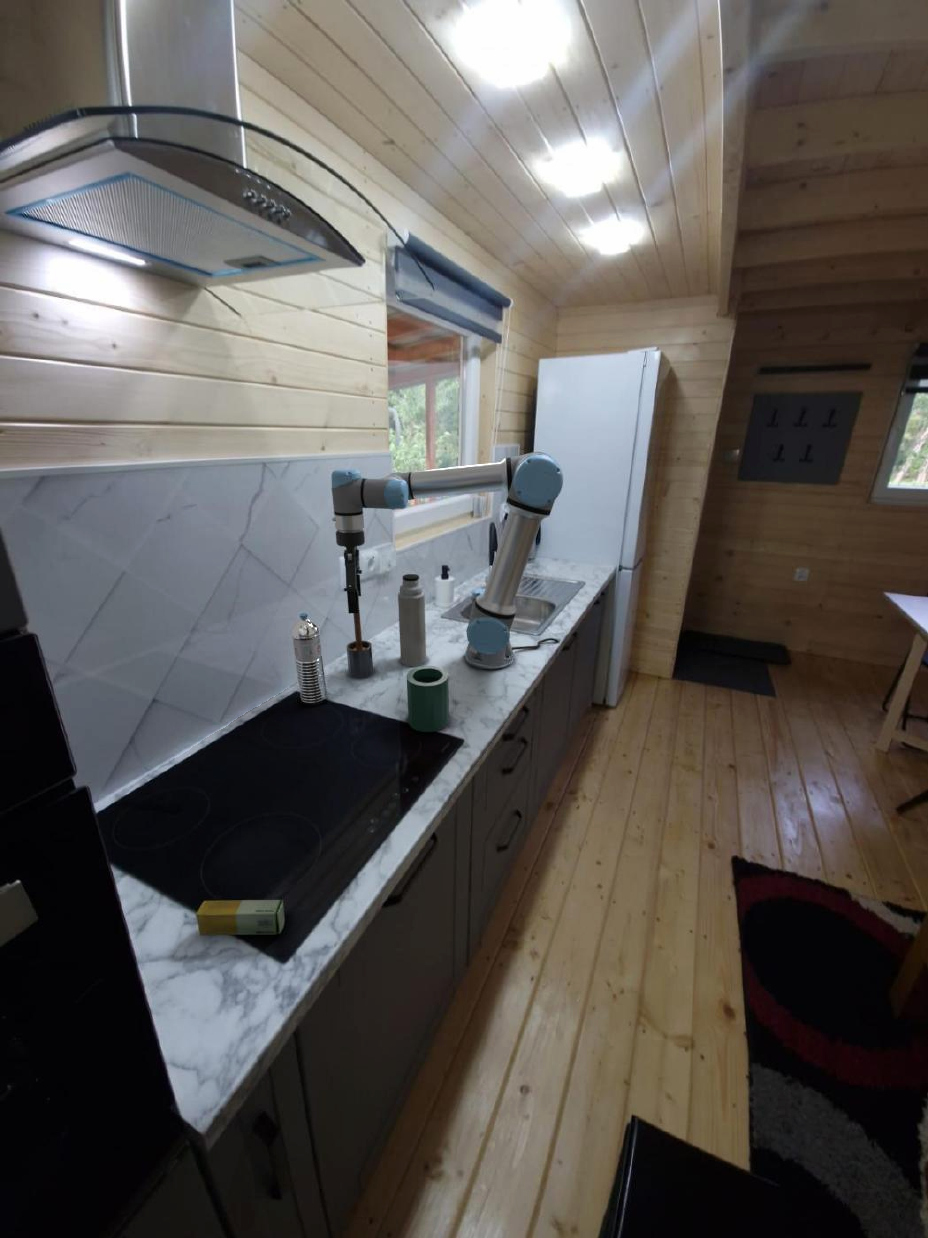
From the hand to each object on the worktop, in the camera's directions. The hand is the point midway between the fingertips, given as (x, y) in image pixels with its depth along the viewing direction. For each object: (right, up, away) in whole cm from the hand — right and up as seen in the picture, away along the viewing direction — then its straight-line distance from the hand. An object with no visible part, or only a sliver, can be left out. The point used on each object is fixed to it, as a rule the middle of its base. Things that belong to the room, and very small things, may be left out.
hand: (355, 604), depth 140 cm
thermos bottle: (+15, -18, +16) cm, 28 cm away
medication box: (-2, -51, -66) cm, 83 cm away
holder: (0, -20, +8) cm, 22 cm away
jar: (+22, -30, -15) cm, 40 cm away
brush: (0, -20, +8) cm, 21 cm away
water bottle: (-10, -26, -6) cm, 29 cm away
